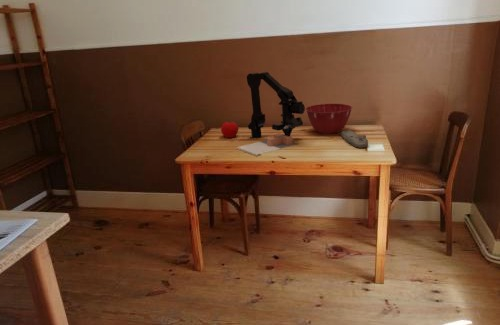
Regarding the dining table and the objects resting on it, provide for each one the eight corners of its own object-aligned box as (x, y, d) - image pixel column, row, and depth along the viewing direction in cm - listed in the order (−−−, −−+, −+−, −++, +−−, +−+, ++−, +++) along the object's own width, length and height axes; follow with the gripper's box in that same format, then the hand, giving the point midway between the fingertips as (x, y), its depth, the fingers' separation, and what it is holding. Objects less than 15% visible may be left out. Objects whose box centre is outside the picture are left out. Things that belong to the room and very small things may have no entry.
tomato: (218, 139, 243) (217, 123, 240) (225, 134, 255) (224, 119, 252) (235, 139, 240) (234, 123, 237) (241, 134, 251) (240, 119, 248)
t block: (263, 143, 223) (262, 137, 221) (279, 139, 229) (279, 133, 228) (275, 147, 213) (275, 140, 212) (292, 143, 219) (292, 136, 218)
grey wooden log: (352, 135, 239) (336, 137, 239) (352, 127, 238) (336, 129, 238) (372, 147, 205) (354, 149, 205) (372, 137, 204) (354, 140, 204)
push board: (236, 148, 219) (236, 147, 219) (277, 139, 234) (277, 137, 234) (256, 156, 203) (256, 154, 203) (298, 145, 218) (298, 144, 218)
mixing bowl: (339, 139, 227) (340, 113, 222) (297, 134, 244) (297, 110, 239) (358, 128, 248) (359, 104, 243) (318, 125, 265) (318, 102, 260)
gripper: (283, 117, 208) (284, 145, 213) (309, 111, 218) (309, 138, 223) (270, 114, 217) (272, 141, 222) (296, 109, 227) (296, 135, 232)
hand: (288, 139), depth 225 cm, fingers closed
